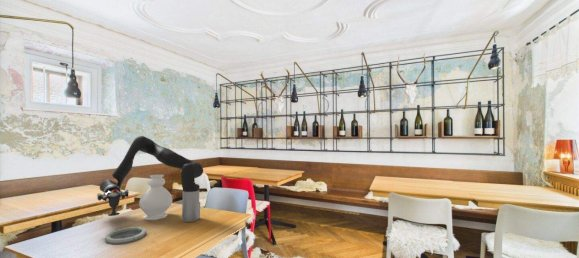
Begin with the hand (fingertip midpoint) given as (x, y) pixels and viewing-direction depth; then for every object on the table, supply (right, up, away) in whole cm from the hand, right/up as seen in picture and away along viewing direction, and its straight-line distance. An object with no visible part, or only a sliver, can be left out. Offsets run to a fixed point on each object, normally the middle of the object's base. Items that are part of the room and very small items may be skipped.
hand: (114, 197), depth 127 cm
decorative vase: (+9, -18, +23) cm, 31 cm away
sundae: (-2, -9, +2) cm, 9 cm away
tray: (+10, -17, -6) cm, 21 cm away
